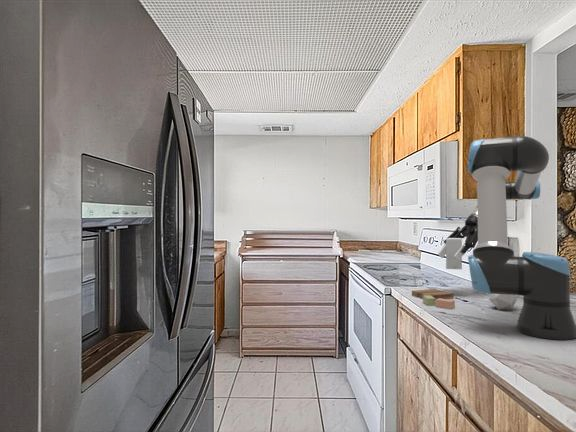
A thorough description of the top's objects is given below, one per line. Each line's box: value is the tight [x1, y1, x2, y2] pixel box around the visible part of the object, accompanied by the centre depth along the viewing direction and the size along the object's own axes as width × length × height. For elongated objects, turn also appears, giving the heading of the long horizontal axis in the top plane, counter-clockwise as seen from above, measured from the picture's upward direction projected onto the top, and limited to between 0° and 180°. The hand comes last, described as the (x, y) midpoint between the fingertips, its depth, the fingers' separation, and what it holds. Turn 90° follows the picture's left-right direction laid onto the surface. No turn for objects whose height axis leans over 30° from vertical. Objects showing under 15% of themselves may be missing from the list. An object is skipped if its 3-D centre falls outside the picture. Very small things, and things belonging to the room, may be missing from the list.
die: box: [488, 294, 519, 311], centre depth 150 cm, size 8×9×10 cm
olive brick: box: [422, 295, 436, 307], centre depth 159 cm, size 6×3×3 cm, turn 178°
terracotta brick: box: [435, 298, 456, 310], centre depth 153 cm, size 6×3×3 cm, turn 41°
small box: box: [445, 237, 463, 270], centre depth 176 cm, size 8×6×13 cm
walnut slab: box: [411, 288, 454, 300], centre depth 172 cm, size 12×12×2 cm
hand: (448, 257), depth 175 cm, fingers closed on small box, 10 cm apart
